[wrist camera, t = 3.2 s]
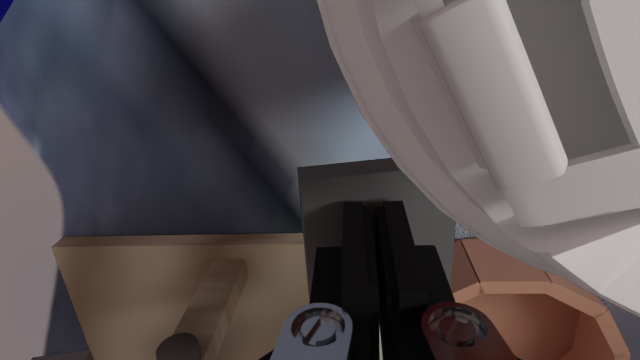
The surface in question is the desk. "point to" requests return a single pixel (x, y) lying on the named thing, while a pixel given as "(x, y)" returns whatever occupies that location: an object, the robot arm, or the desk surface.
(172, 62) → the desk surface
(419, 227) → the lever tray
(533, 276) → the bowl
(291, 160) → the desk surface
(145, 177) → the desk surface
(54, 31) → the desk surface
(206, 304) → the stand
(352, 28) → the coffee cup
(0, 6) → the cable holder
